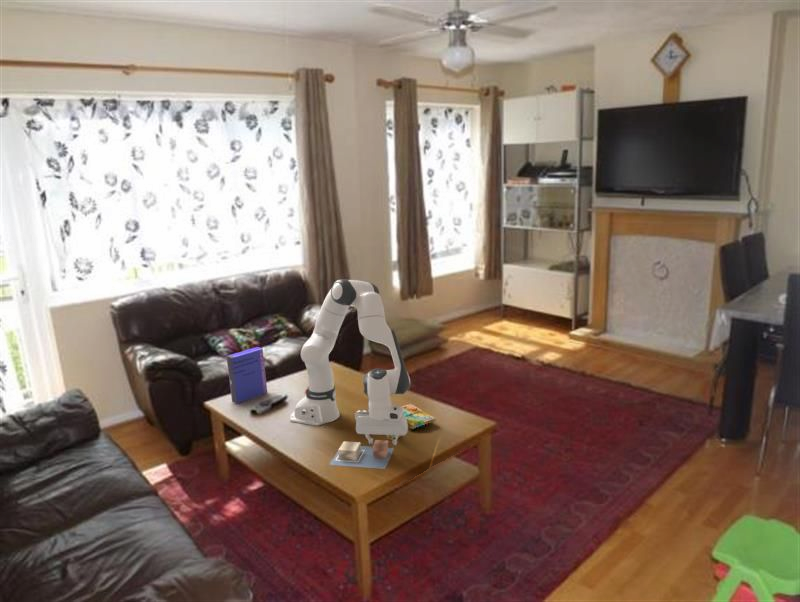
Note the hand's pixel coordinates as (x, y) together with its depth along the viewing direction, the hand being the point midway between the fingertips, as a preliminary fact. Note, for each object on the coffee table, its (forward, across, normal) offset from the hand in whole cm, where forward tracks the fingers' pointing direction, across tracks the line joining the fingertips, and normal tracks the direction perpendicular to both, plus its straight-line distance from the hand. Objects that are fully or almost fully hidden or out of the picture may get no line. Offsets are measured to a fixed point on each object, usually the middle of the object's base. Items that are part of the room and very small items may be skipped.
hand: (382, 443), depth 223 cm
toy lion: (+6, -2, +18) cm, 19 cm away
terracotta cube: (+4, -1, 0) cm, 5 cm away
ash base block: (+4, -13, -2) cm, 14 cm away
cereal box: (+4, -81, +50) cm, 95 cm away
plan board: (+5, -8, -2) cm, 10 cm away
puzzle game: (+6, +6, +31) cm, 32 cm away
